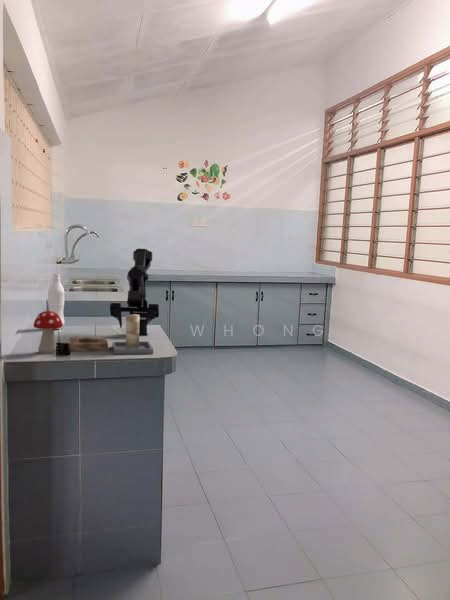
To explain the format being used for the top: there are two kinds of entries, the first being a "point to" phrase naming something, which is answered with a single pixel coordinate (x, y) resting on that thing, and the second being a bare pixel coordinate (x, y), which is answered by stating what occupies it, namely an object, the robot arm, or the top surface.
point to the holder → (88, 344)
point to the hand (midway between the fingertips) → (133, 327)
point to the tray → (121, 349)
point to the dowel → (132, 331)
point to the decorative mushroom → (47, 330)
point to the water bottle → (56, 297)
